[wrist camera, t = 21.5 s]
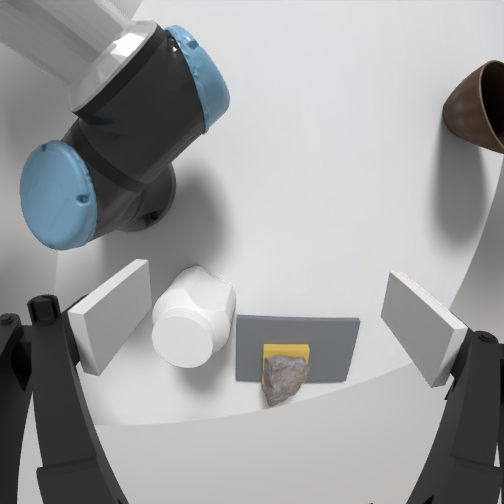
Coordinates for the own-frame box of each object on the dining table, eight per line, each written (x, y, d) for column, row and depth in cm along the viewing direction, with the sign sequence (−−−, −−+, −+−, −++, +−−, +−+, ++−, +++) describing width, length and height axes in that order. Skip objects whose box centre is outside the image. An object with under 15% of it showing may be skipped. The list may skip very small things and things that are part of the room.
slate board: (236, 375, 54) (235, 379, 53) (237, 314, 50) (236, 317, 49) (344, 377, 53) (345, 380, 52) (358, 317, 50) (360, 321, 49)
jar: (245, 291, 49) (238, 337, 35) (219, 332, 52) (205, 385, 37) (185, 257, 48) (155, 292, 34) (163, 301, 50) (131, 346, 36)
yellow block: (263, 343, 50) (262, 377, 52) (263, 350, 48) (262, 384, 50) (308, 343, 50) (303, 377, 52) (309, 350, 48) (304, 384, 50)
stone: (294, 392, 51) (296, 413, 45) (253, 385, 51) (251, 405, 45) (312, 353, 48) (317, 373, 43) (268, 344, 48) (268, 364, 42)
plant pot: (471, 171, 42) (528, 177, 26) (415, 126, 41) (471, 114, 25) (488, 112, 38) (541, 104, 22) (436, 66, 37) (486, 41, 21)
